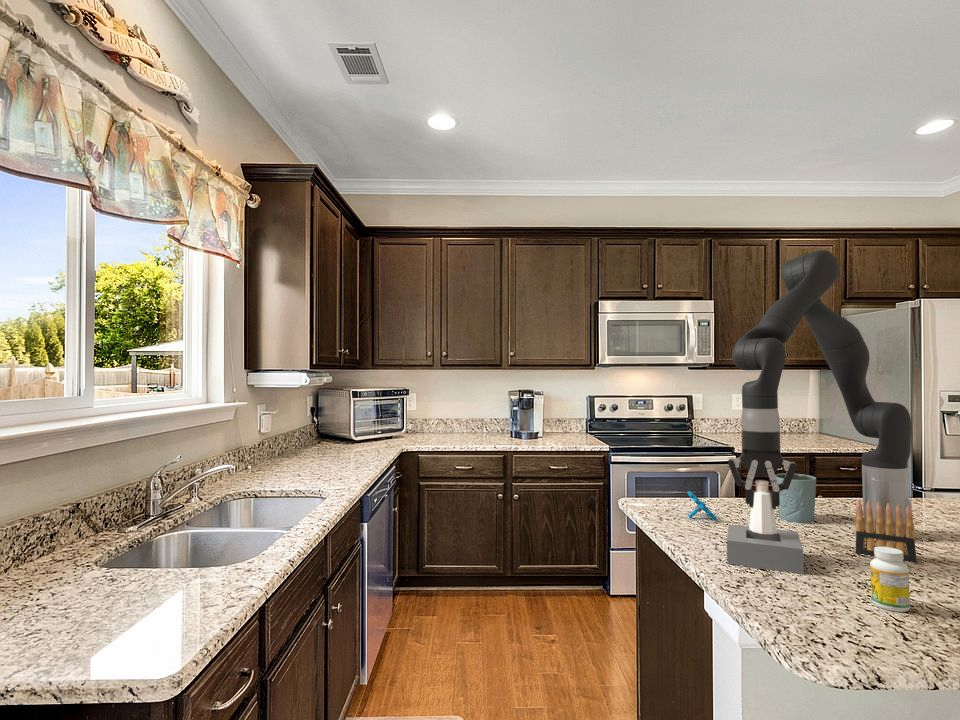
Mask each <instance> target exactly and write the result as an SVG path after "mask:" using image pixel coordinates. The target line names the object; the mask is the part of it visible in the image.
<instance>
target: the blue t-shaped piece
mask: <svg viewBox="0 0 960 720" xmlns="http://www.w3.org/2000/svg"><path fill="white" fill-rule="evenodd" d="M687 495H688V496H689V498H691V499H692V501H693V502H694V503H695V504H696V505H695V506H694V508H695V509H693V510H692V511H691V512H690V513H689V514H688V515H687V517H688V518H689V519H690V518H691V519H692V518H693V517H694V516H695V515H697V514H698V513H701V512H702V510H703V511H704V513H705V514H706V515H707V517H709V518H711V519H712V520H713V521H717V519H718V518H717V517H716V515H715V514H714V513H713V512H712V511H711V510H710V508H708V507H707V506H706V505H707V504H706V503H705V502H704V501H702V500H700V499H699V498H698V497H697V496H696V495H695V494H694V493H693V492H692V491H690V490H688V491H687Z"/></svg>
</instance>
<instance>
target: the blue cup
mask: <svg viewBox="0 0 960 720" xmlns="http://www.w3.org/2000/svg"><path fill="white" fill-rule="evenodd" d="M785 474H786V473H783V472H782V473H777V474H775V476H776V480H777V483H778V484H780V483H782V482H783V480H784V477H785ZM816 487H817V477H815V476H813V475H808V474H803V473H802V474H801V473H794V475H793V478H792V481H791V483H790V486H789V488H788V489H787V490H781V491H780V493H779V496H780V505H779V507H777V508H778V509H777V511H778V518H779V519H780V518H781V519H780V520H782V519H783V520H782V521H784V520H786V521H785V522H788V521H790V522H789V523H793V522H796V523H795V524H812V523H811V522H813V523H814V522H815V516H816V515H815V507H816Z"/></svg>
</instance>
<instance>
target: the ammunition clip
mask: <svg viewBox="0 0 960 720" xmlns="http://www.w3.org/2000/svg"><path fill="white" fill-rule="evenodd" d="M855 510H856V511H855V518H854V521H855V522H854V523H855V529H854V530H855V554H856V553H857V554H856V555H860V554H864V555H863V556H867V555H871V556H870V557H874V556H875V555H874V548H875V547H890V548H895V549H898V550H901V551H902V552H903V558H904V559H903V561H902V562H907V561H908V563H915V564H916V563H917V562H918V561H917V552H916V538H915V535H916V533H915V524H914V518H913V517H914V516H913V510H911V507H910V505H908V506H907V509H906V518H905V535H904V523H903V517H902V510H901V506H900V504H898V505H897V507H896V517H895V534H894V522H893V516H892V509H891V505H890V504H889V503H888V504H887V506H886V515H885V533H884V521H883V515H882V507H881V504H880V502H878V503H877V506H876V518H875V532H874V520H873V514H872V506H871V503H870V501H868V502H867V505H866V517H865V530H864V516H863V504H862V501H861V500H860V499H858V500H857V502H856V506H855Z"/></svg>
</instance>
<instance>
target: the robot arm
mask: <svg viewBox="0 0 960 720" xmlns="http://www.w3.org/2000/svg"><path fill="white" fill-rule="evenodd" d="M839 275H840V265H839V262H838V259H837V258H836V256H835V255H834V254H833V253H832V252H831V251H829V250H826V249H823V250H822V249H819V250H816V251H815V250H814V251H811V252H809V253H806V254H803V255H801V256H800V255H799V256H798V257H797V256H796V257H794V258H791V259H789V260H787V261H785V262H784V263H783V264H782V266H781V278H782V281H783V284H784V286H785V288H786V290H787V292H786V293H785V294H784V295H783V296H781V297H780V298H779V299H778V300H776V301H775V302H774V303H773V304H772V305H771V306H770V307H769V308H768V309H767V311H766V312H765V314H764V315H763V316H762V318H761V320H760V321H759V322H758V324H757V325H755V326H754V327H752V328H751V329H750V330H749V331H747V332H746V333H745V334H743V336H741V337H740V338H739V339H738V340H737V342H736V343H735V345H734V347H733V349H732V353H731V357H732V362H733V364H734V366H736V367H737V368H738V369H740V370H742V371H760V373H759V377H758V378H757V379H755V380H752V381H751V380H750V381H746V382H744V383H743V385H742V386H741V405H742V408H741V417H740V418H741V419H740V420H741V421H740V422H741V423H740V428H741V453H740V455H739V457H735V458H728V460H727V464H728V467H729V470H730V471H731V475H732V477H733V479H734V482H735V485H736V486H737V487H741V488H743V489H744V490H745V491H744V492H745V496H744V497H745V503H746V504H747V505H749V508H751V507H753V497H752V494H753V488H752V486H753V483H754V479H755V476H765V477H768V478H769V482H770V484H771V486H772V487H771V488H772V490H771V493H772V506H773V509H774V510H777V508H778V507H779V505H780V496H779V493H780V491H781V490H787V489H788V488H789V486H790V483H791V481H792V478H793V475H794V474H796V473H795V472H796V469H797V468H798V467H797V463H795V462H794V461H789V460H785V459H784V458H783V456H782V454H781V425H780V424H781V423H780V422H781V421H780V414H779V403H778V402H779V398H778V395H779V394H778V391H779V390H778V389H779V386H780V381H781V376H782V373H783V370H784V368H785V363H786V359H787V353H786V352H787V351H786V348H785V343H786V342H787V341H788V340H789V339H790V338H791V335H793V332H794V331H795V330H796V328H797V326H798V324H799V323H800V321H801V320H802V318H804V319H805V321H806V323H807V325H808V326H809V328H810V330H811V332H812V334H813V336H814V339H815V341H816V343H817V344H818V347H819V349H820V352H821V353H822V355H823V357H824V360H825V361H826V364H827V365H828V367H829V369H830V371H831V373H832V375H833V377H834V379H835V382H836V384H837V386H838V388H839V391H840V393H841V395H842V398H843V400H844V403H845V407H846V409H847V410H846V411H847V412H848V415H849V417H850V420H851V423H852V426H853V427H854V428H855V430H856V432H858V434H860V435H861V436H863V437H867V438H870V439H871V438H872V439H873V438H874V439H878V444H877V447H876V448H875V449H873V450H870V451H866V452H863V453H862V454H861V476H862V477H861V478H862V479H861V480H862V481H861V482H862V503H863V504H862V509H863V518H864V530H865V517H866V505H867V502H868V501H870V503H871V506H872V514H873V520H874V532H875V518H876V506H877V503H878V502H880V504H881V507H882V515H883V521H884V533H885V515H886V506H887V504H888V503H889V504H890V505H891V509H892V516H893V522H894V534H895V517H896V507H897V505H898V504H900V506H901V510H902V517H903V523H904V535H905V518H906V509H907V506H908V505H910V507H911V510H912V509H913V508H912V507H913V506H912V501H911V499H910V497H909V474H908V466H909V465H908V463H909V460H910V457H911V452H912V450H911V446H912V445H911V444H912V417H911V413H910V412H909V410H908V408H907V407H906V406H904V405H903V404H901V403H896V402H885V401H875V400H874V398H873V397H872V395H871V392H870V390H869V387H868V385H867V382H866V381H867V380H866V379H867V373H868V369H869V365H870V351H869V348H868V346H867V344H866V341H865V340H864V338H863V336H862V334H861V332H860V330H859V329H858V328H857V326H856V325H854V324H853V323H852V322H851V321H849V320H848V319H846V318H844V316H841V315H840V314H839V313H837V312H835V311H834V310H832V309H831V308H830V307H828V306H827V305H826V304H825V303H824V302H823V300H821V297H822V296H823V295H825V293H826V292H827V291H828V290H830V288H831V287H832V286H833V285H834V284H835V283H836V281H837V280H838V278H839ZM740 463H742V465H743V466H744V467H745V469H746V470H747V471H748V472H747V476H746V480H743V479H742V478H741V475H740V472H739V469H738V468H739V467H740ZM782 465H783V469H784V471H786V474H785V477H784V480H783V482H782V483H780V484H778V483H777V480H776V476H775V475H776V474H775V473H776V471H777V470H778V469H779V468H780V467H781V466H782ZM912 511H913V510H912Z"/></svg>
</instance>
